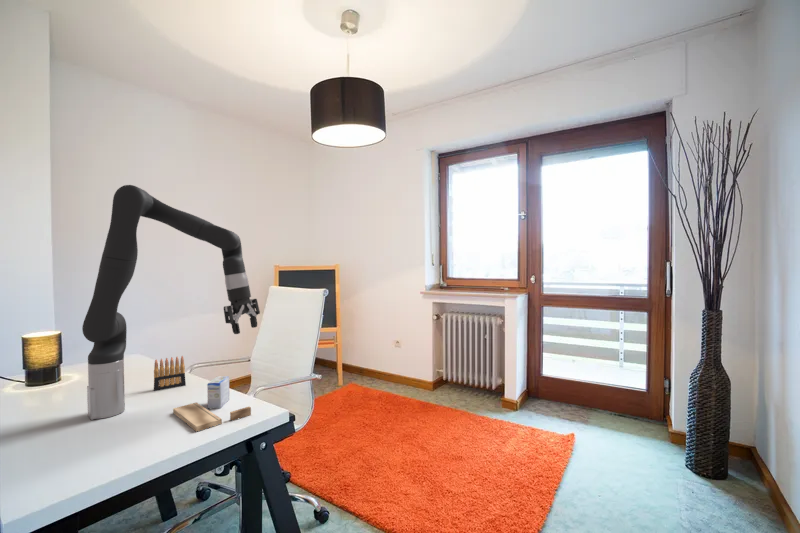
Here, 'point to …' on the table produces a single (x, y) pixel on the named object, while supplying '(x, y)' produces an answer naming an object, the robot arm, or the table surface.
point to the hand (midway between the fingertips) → (246, 330)
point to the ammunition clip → (172, 379)
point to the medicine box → (218, 391)
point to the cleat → (240, 413)
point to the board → (197, 416)
